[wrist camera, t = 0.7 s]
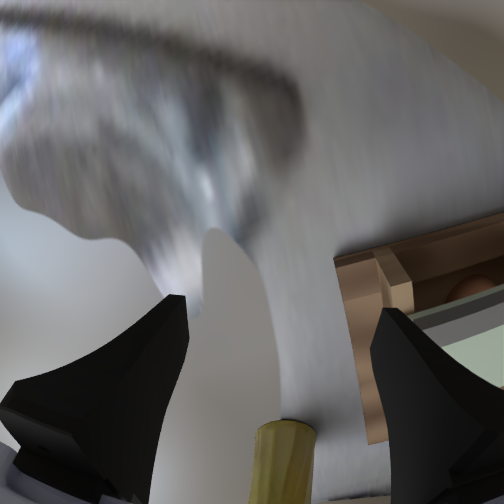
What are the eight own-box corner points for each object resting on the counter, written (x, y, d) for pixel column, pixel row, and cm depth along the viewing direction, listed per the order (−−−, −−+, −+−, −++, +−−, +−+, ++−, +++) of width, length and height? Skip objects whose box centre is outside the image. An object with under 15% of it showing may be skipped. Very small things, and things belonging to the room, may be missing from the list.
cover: (558, 352, 16) (566, 364, 14) (400, 416, 19) (404, 433, 18) (578, 252, 13) (591, 261, 11) (394, 318, 16) (401, 336, 15)
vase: (312, 452, 30) (307, 570, 16) (255, 449, 30) (235, 565, 17) (319, 419, 27) (317, 557, 14) (254, 416, 28) (229, 552, 15)
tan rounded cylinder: (493, 319, 21) (517, 352, 17) (443, 337, 22) (462, 374, 18) (496, 266, 19) (527, 295, 15) (442, 284, 20) (467, 318, 16)
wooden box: (531, 375, 23) (551, 407, 18) (366, 433, 28) (371, 476, 23) (556, 195, 16) (597, 215, 12) (333, 258, 21) (342, 299, 16)
